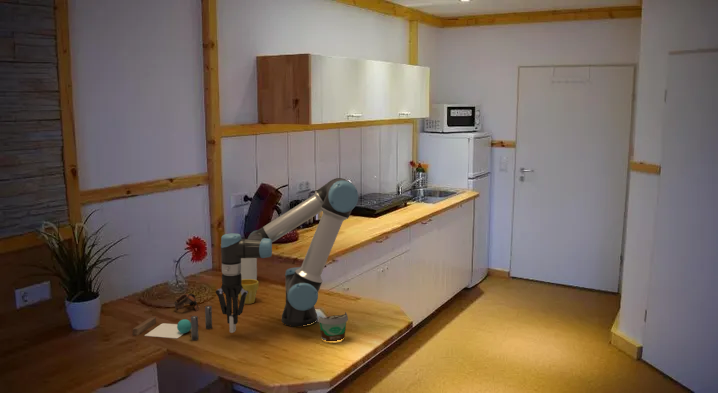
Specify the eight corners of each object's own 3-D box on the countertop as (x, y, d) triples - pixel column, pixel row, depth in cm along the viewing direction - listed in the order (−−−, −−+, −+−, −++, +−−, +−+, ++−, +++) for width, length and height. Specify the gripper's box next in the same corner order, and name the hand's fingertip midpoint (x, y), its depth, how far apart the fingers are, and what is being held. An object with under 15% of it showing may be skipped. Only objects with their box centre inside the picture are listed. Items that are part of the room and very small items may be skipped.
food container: (324, 346, 222) (324, 321, 220) (317, 341, 227) (317, 316, 226) (353, 341, 227) (353, 316, 226) (346, 336, 233) (346, 311, 231)
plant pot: (254, 297, 281) (253, 277, 280) (262, 303, 273) (261, 282, 271) (233, 300, 276) (232, 280, 275) (240, 306, 267) (240, 285, 266)
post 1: (199, 338, 229) (198, 316, 228) (196, 340, 226) (195, 318, 225) (193, 337, 229) (192, 315, 228) (190, 340, 227) (189, 317, 225)
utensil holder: (224, 285, 300) (223, 252, 298) (234, 278, 314) (234, 246, 312) (251, 287, 298) (251, 253, 295) (261, 279, 312) (260, 247, 310)
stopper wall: (155, 323, 245) (155, 317, 245) (137, 335, 231) (137, 329, 231) (151, 322, 245) (151, 317, 245) (132, 334, 232) (132, 328, 231)
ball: (190, 315, 236) (178, 319, 237) (184, 320, 231) (172, 324, 232) (195, 327, 236) (183, 331, 237) (190, 333, 231) (178, 337, 232)
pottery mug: (196, 314, 258) (186, 300, 255) (179, 322, 260) (168, 308, 257) (204, 299, 269) (194, 285, 266) (187, 307, 271) (177, 293, 268)
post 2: (213, 327, 241) (212, 306, 240) (210, 329, 238) (209, 308, 237) (207, 326, 241) (206, 305, 240) (204, 328, 239) (203, 307, 238)
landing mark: (193, 326, 242) (193, 325, 242) (177, 338, 228) (177, 338, 228) (162, 323, 244) (162, 323, 244) (144, 335, 231) (144, 335, 231)
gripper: (211, 274, 226) (213, 333, 229) (243, 276, 223) (244, 336, 227) (219, 269, 233) (221, 326, 236) (250, 271, 231) (251, 329, 234)
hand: (232, 331), depth 231 cm, fingers closed
